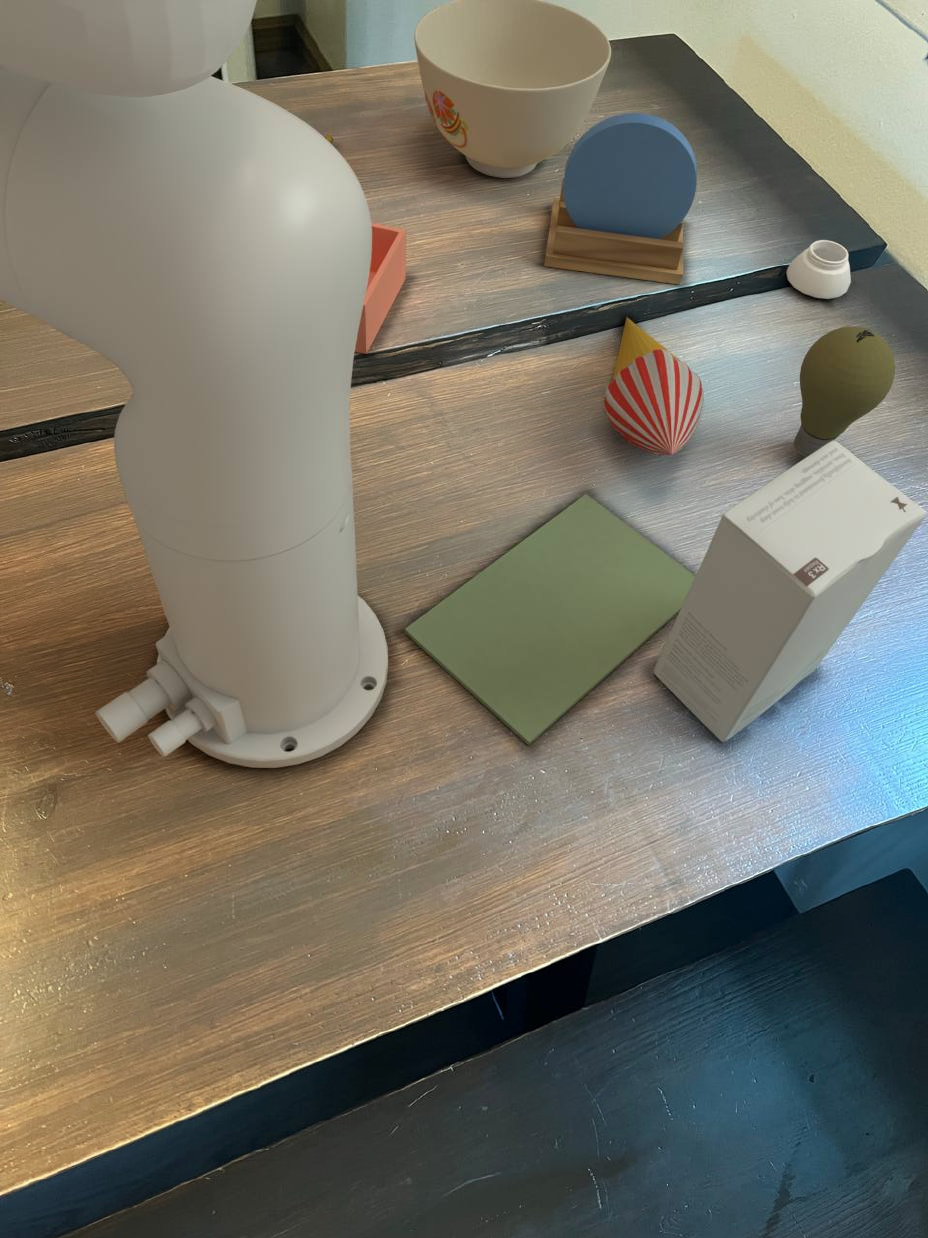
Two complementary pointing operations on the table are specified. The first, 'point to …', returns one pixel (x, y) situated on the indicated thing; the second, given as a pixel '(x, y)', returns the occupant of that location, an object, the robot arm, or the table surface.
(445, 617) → the mat
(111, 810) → the table surface
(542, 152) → the bowl
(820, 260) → the white jar
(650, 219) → the disc
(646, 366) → the ice cream cone
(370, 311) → the red open box
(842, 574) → the cosmetic box
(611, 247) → the rack
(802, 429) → the light bulb
